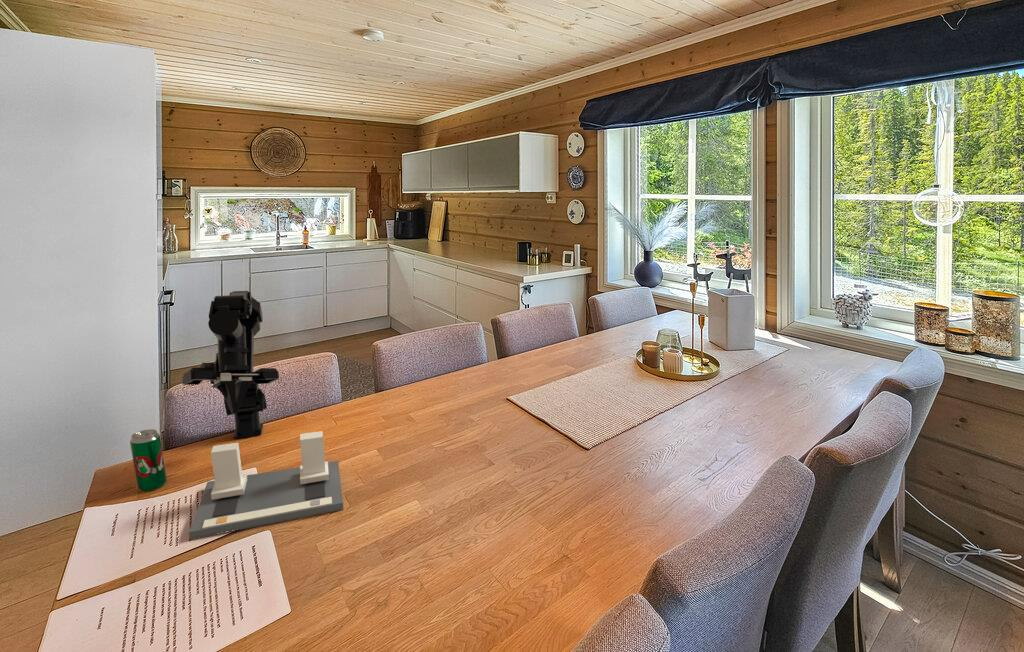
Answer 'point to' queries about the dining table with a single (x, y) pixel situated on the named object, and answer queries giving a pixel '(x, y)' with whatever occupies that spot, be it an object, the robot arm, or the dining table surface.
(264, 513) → the switch board
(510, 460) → the dining table surface
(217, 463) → the tab front
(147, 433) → the soda can
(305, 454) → the tab
